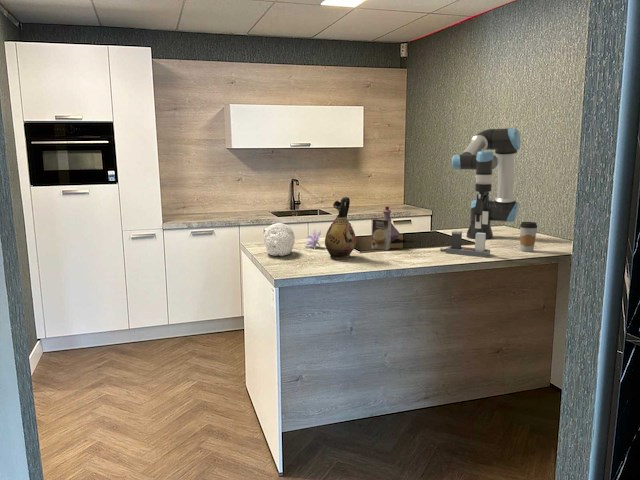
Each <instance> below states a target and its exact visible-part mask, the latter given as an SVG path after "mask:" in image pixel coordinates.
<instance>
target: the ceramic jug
mask: <svg viewBox="0 0 640 480" xmlns="http://www.w3.org/2000/svg"><path fill="white" fill-rule="evenodd" d="M350 201H351V200H350V197H349V196H343V197H342V198H341V199H340V201H338V200H335V201H334V202H333V204H332V207H333V208H334V209H336V210H337V211H338V214H337V215H336V218H335V219H334V220H333V221H332V222H331V224H330V226H329V228H328V229H327V231H326V235H325V238H324V246H325V249H326V250H327V252H328V254H329V258H331V259H333V260H335V259H337V260H345V258H346V259H349V258H350V255H351V254H352V252H353V251H354V249H355V247H356V244H357V238H356V234H355V230H354V228H353V226H352V225H351V222H350V221H349V220H348V213H349V209H350V205H351V202H350Z"/></svg>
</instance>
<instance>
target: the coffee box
mask: <svg viewBox="0 0 640 480" xmlns="http://www.w3.org/2000/svg"><path fill="white" fill-rule="evenodd" d="M371 220H372V223H371V249H374V250H381V251H382V250H383V251H388V250H390V249H391V242H390V240H391V223H392V219H391V218H390V219H383V217H382V218H381V217H375V218H373V219H371Z"/></svg>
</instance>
